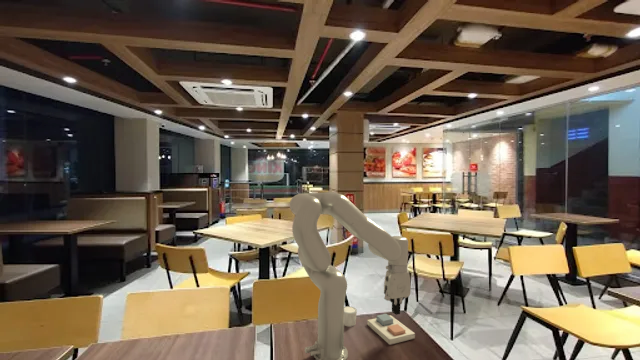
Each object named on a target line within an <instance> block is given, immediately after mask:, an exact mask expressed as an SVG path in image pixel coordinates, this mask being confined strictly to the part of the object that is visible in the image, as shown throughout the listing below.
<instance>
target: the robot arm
mask: <svg viewBox="0 0 640 360" xmlns="http://www.w3.org/2000/svg"><path fill="white" fill-rule="evenodd" d="M289 209H290V211H291V212H292V214H294V218H293V221H292V222H293V223H292V227H291V229H292V231H291V232H292V236H293V238H294V239H293V240H294V241H295V242H296V245H297V247H298V248H297V257H298V260H299V261H300V263H301V265H302V268H304V270H305V272H306V274H307V276H308V277H309V279H310V280H311V282H312V283H313V284H314V285H315V287H317V288H318V290H319V291H320V294H319V299H318V305H317V340H315V341H314V342H315V343H314V344H312V345H311V346H305V347H304V352H305V354H309V353H310V356H311V357H313V358H314V359H315V360H347V359H348V357H349V353H348V352H349V351H348V349H347V347H346V346H344V345H345V343H344V342H345V326H344V307H345V303H346V302H345V301H346V295H347V290H348V282H347V279H346V278H347V277H346V276H345V275H344V274H343V272H341V270H339V269H337V268H336V267H335V266H333V265H332V257H331V253H330V251H329V249H328V248H327V246H326V243H325V242H324V240H323V239H322V237H321V234H320V233H319V230H318V221H319V219H320V216H321V215H323V214H324V215H326V214H327V215H329V216H331V217H332V218H334V219H335V221H337V222H338V223H339V224H340V225H341V226H343V227H344V228H345V229H346V230H347V231H348V232H349V233H350V234H351V235H352V236H354V237H355V238H357V239H359V240H361V241H363V242H365V243H367V245H368V247H367V248H368V249H369V251H370V252H371V253H372V254H373V255H376V256H377V257H379V258H382V259H385V260H386V261H387V265H386V266H385V269H386V272H385V276H384V282H383V283H384V284H383V294H384V297H383V299H384V300H385V301H387V302H388V301H389V302H390V303H391V312H392V313H393V314H395V316H397V315H400V314H401V305H402V304H403V301H404V299H407V298H409V297H410V295H411V292H412V291H411V290H412V289H411V287H412V285H411V276H410V271H409V270H408V260H409V239H408V238H407V237H405V236H401V235H394V236H392V235H391V234H389V232H387V231H386V230H385V229H383V228H382V227H381V226H380V225H378V224H377V223H376V222H374V221H373V220H372V219H370V218H369V217H367V215H365V214H364V213H363V212H362V211H361V209H359V208H358V207H357V206H356V205H355V204H354V203H353V202H352V201H350V199H348V197H346V196H345V195H344V194H342V193H337V192H332V191H325V192H307V193H306V192H305V193H297V194H296V195H294V196H293V197H292V198H291V200H290V202H289Z"/></svg>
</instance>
